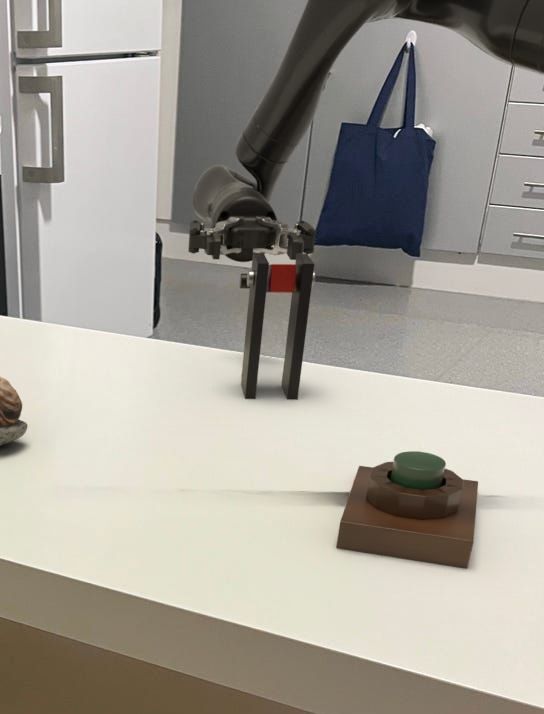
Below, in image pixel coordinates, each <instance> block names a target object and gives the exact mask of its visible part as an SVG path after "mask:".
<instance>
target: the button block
mask: <svg viewBox="0 0 544 714" xmlns="http://www.w3.org/2000/svg"><path fill="white" fill-rule="evenodd" d="M393 462H394V461H385V462H383V463H381V464H380V463H379V464H378V465H376V466H373V467H372V466H365V465H358V468H357V471H356V474H355V477H354V480H353V483H352V486H351V489H350V492H349V495H348V497H347V500H346V503H345V507H344V510H343V512H342V515H341V518H340V521H339V526H338V533H337V540H336V545H335V546H336V547H335V548H336V549H337V550H338V549H339V550H344V551H351V552H357V553H363V554H370V555H375V556H376V555H377V556H381V557H387V558H388V557H389V558H396V559H401V560H408V561H414V562H420V563H427V564H434V565H441V566H447V567H453V568H458V569H466V570H467V569H468V567H469V562H470V558H471V554H472V549H473V546H474V541H475V529H476V516H477V504H478V503H477V502H478V492H479V491H478V489H479V481H478V480H470V479H463V478H462V477H461V476H459V475H458V474H457V473H455V472H454V471H453V470H451V469H448V468H445V471H444V475H443V480H442V485H441V487H440V488H438V489H427V490H419V489H412V488H405V487H403V486H400V485H397V484H395V483H392V482H391V481H390V478H391V473H392V467H393Z"/></svg>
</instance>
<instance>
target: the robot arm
mask: <svg viewBox="0 0 544 714" xmlns="http://www.w3.org/2000/svg"><path fill="white" fill-rule="evenodd" d="M389 19H397V20H408V21H413V22H421V23H424V24H428V25H429V24H430V25H433V26H437V27H442V28H445V29H448V30H450V31H452V32H455V33H457V34H458V35H460V36H461V37H462V38H464V39H465V40H467V41H468V42H469V43H471V44H472V45H474V46H475V47H476V48H478V49H479V50H480V51H482V52H483V53H485V54H486V55H488V56H490V57H492V58H493V59H495V60H497V61H499V62H502V63H504V64H506V65H509V66H512V67H515V68H518V69H520V70H521V69H522V70H525V71H528V72H532V73H534V74H537V75H542V76H544V0H307V1H306V5H305V7H304V9H303V12H302V14H301V17H300V18H299V21H298V24H297V26H296V28H295V30H294V33H293V35H292V38H291V40H290V42H289V44H288V47H287V49H286V51H285V53H284V55H283V58H282V60H281V62H280V64H279V66H278V68H277V70H276V72H275V75H274V76H273V78H272V80H271V82H270V83H269V86H268V87H267V89H266V91H265V93H264V95H263V96H262V98H261V100H260V101H259V103H258V105H257V106H256V108H255V110H254V112H253V114H251V116H250V118H249V120H248V122H247V123H246V125H245V127H244V129H243V130H242V132H241V134H240V136H239V137H238V139H237V142H236V144H235V150H234V152H235V156H236V158H237V160H238V162H239V163H240V165H241V166H242V167H244V169H245V170H246V171H247V172H248V173H249V174H250V175H251V176H252V177H253V178H254V180H252V179H251V178H250V177H247V176H245V175H243V174H242V173H240V172H238V171H236V170H234V169H232V168H231V167H229V166H227V165H223V164H215V165H212V166H210V167H209V168H207V169H206V170H205V171H204V172H203V173H202V174H201V175H200V177H199V178H198V180H197V182H196V184H195V186H194V188H193V193H192V207H193V211H194V213H195V214H196V216H197V217H199V219H201V221H204V222H205V223H206V224H208V225H209V226H210V227H205V223H204V222H201V221H200V220H199V221H198V220H197V219H194V220H191V221H189V235H188V236H189V237H188V250H187V251H188V253H190V254H196V253H199V252H200V250H204V254H205V255H207V256H211V258H212V260H220V258H221V257H220V256H225V257H226V258H227V259H230V260H231V261H235V262H239V263H249V262H252V259H253V253H264V255H265V254H267V255H273V256H280V255H285V254H286V255H287V257H288V258H289V260H290V261H296V254H297V253H307V254H308V255H311V254H314V252H315V248H314V247H315V242H316V240H315V239H316V235H317V229H316V228H315V227H313V226H312V225H311V224H310V223H309V222H308V221H305V220H299V221H296V223H294V226H293V227H294V228H290V227H289V224H288V223H287V222H283V221H280V220H278V218H277V215H276V212H275V211H274V209H273V207H272V205H271V203H272V200H273V196H274V192H275V189H276V187H277V184H278V181H279V179H280V177H281V175H282V172H283V171H284V170H285V169H284V168H285V167H286V165H287V164H288V162H289V160H290V159H291V157H293V156H292V155H293V154H294V153H295V151H296V150H297V148H298V147H299V145H300V144H301V141H303V139H304V137H305V136H306V134H307V132H308V130H309V128H310V127H311V126H312V125H311V124H312V123H313V121H314V118H315V116H316V113H317V111H318V108H319V104H320V101H321V97H322V94H323V90H324V86H325V84H326V81H327V79H328V76H329V74H330V71H331V70H332V67H333V66H334V64H335V62H336V61H337V59H338V57H339V56H340V54H341V53H342V52H343V50H344V48H345V47H346V46H347V45H348V44H349V43H350V41H351V40H352V39H353V37H354V36H356V34H357V33H358V32H359V31H360V29H361V28H362V27H363V26H364V25H365V24H368V23H373V22H377V21H383V20H389Z"/></svg>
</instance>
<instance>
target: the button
mask: <svg viewBox="0 0 544 714" xmlns="http://www.w3.org/2000/svg"><path fill="white" fill-rule="evenodd" d="M392 462H393V467H392V473H391V478H390V481H391V482H392V483H395V484H397V485H400V486H403V487H405V488H412V489H419V490H427V489H438V488H440V487H441V485H442V480H443V475H444V471H445V469H446V466H447V464H446V460H445V459H444V458H442V457H441V456H439V455H437V454H434V453H429V452H426V451H425V452H424V451H414V450H413V451H411V450H409V451H403V452H400V453H397V454H396V455H395V456H394V457H393V461H392Z"/></svg>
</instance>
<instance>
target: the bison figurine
mask: <svg viewBox="0 0 544 714" xmlns="http://www.w3.org/2000/svg"><path fill="white" fill-rule="evenodd" d="M22 410H23V401H22V399H21V398H20V394H19V393H18V391H17V389H15V388H14V387H13V386H12V384H11V383H10V381H9V380H8V379H6V378H4V377H1V376H0V447H1V446H4V445H6V444H9V443H11V442H13V441H17V440H18V439H21V438H22V437H23V436H24V435H25V434H26V432H27V430H28V424H27V422H26V421H24V420H21V419H20V418H21V416H22Z"/></svg>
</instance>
